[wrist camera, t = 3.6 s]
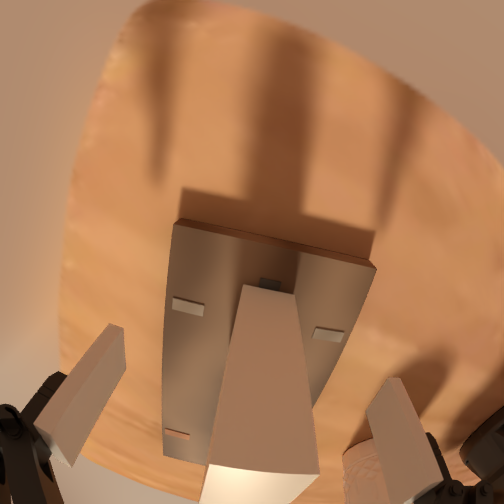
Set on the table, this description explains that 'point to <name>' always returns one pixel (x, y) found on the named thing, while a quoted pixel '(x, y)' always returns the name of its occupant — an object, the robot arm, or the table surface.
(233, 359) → the fader knob
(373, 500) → the white cup
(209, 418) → the board
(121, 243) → the table surface
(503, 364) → the table surface
